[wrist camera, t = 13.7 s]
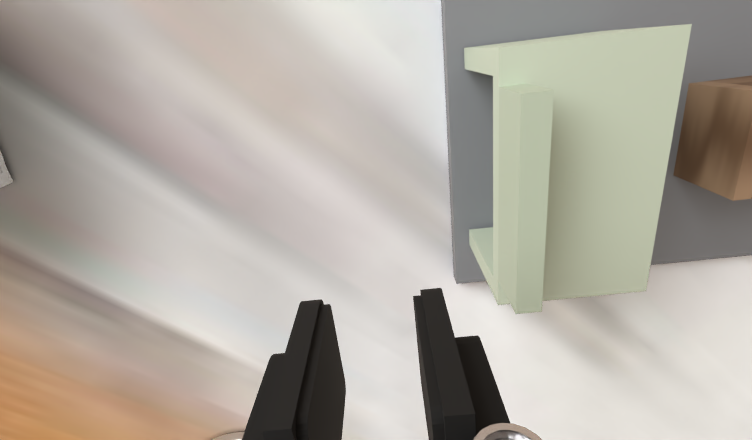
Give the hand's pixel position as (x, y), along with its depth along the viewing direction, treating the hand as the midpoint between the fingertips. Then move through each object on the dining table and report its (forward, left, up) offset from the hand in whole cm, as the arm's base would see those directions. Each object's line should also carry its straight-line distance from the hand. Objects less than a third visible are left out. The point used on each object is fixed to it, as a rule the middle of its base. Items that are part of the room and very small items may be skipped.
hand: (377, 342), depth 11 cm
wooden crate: (0, -23, -18) cm, 29 cm away
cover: (0, -10, -18) cm, 20 cm away
